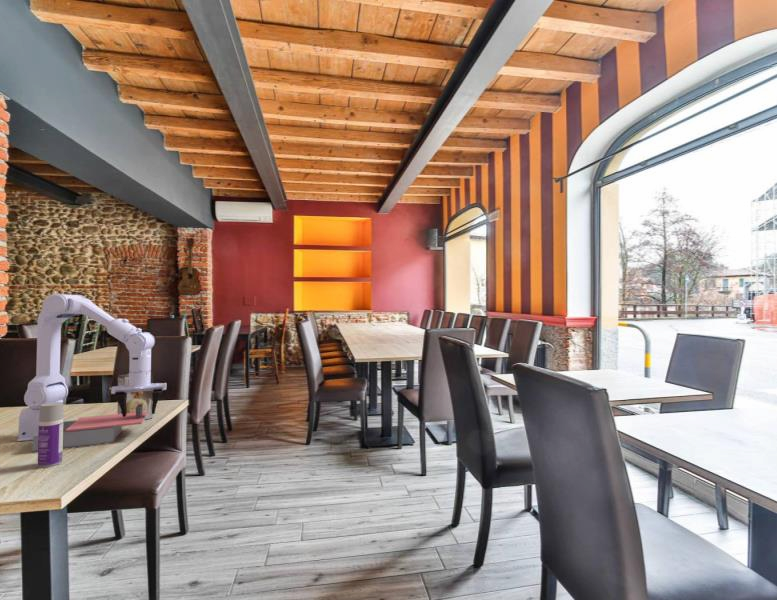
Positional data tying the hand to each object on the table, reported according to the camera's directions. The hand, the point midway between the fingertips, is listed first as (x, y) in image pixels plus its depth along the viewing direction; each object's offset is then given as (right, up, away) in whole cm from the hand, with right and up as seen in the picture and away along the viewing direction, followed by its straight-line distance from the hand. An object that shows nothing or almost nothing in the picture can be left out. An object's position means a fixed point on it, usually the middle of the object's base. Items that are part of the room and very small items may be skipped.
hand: (139, 414), depth 122 cm
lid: (-7, -1, -3) cm, 8 cm away
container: (-7, -5, -24) cm, 26 cm away
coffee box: (-11, -7, +15) cm, 20 cm away
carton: (-13, -6, -6) cm, 16 cm away
